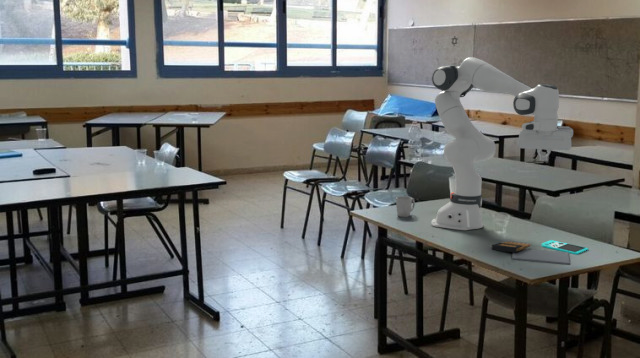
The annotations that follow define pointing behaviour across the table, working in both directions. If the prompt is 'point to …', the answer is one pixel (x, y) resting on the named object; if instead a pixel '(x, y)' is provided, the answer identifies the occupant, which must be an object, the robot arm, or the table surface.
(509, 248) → the ammunition clip
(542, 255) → the rubber mat
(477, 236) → the table surface
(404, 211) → the cup
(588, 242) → the table surface
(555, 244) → the handheld game console
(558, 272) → the table surface
